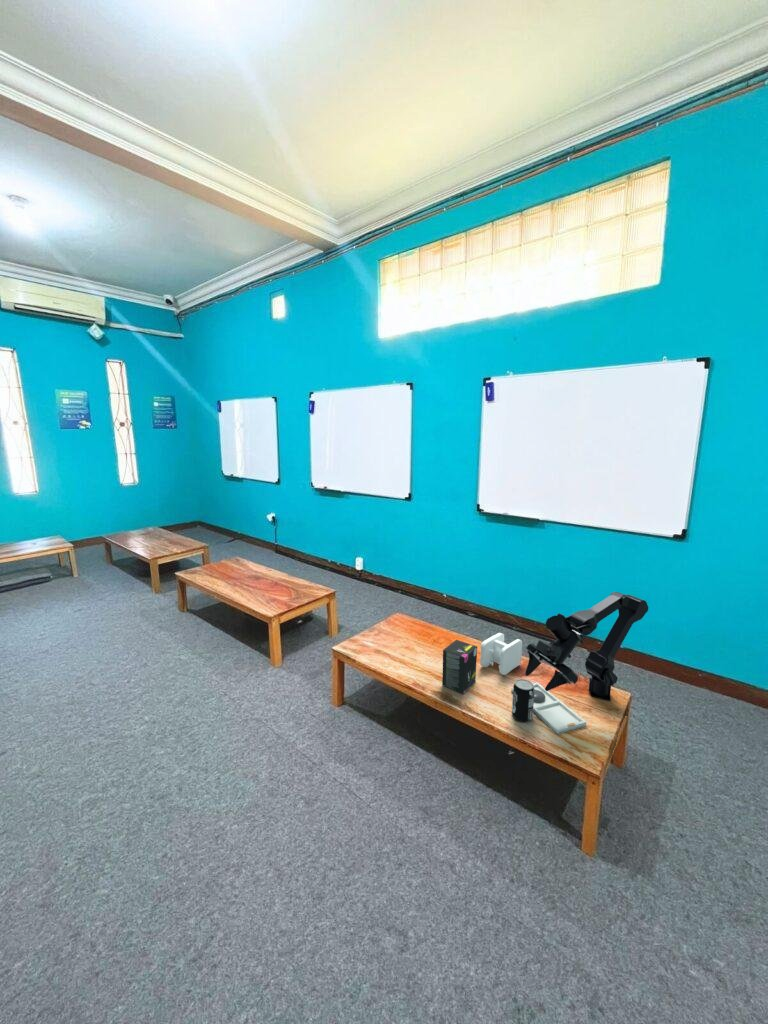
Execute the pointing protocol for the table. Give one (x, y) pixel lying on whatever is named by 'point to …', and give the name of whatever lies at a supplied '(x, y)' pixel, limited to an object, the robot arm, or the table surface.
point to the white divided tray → (554, 711)
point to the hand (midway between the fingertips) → (535, 682)
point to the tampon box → (459, 666)
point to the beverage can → (523, 700)
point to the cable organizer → (501, 653)
